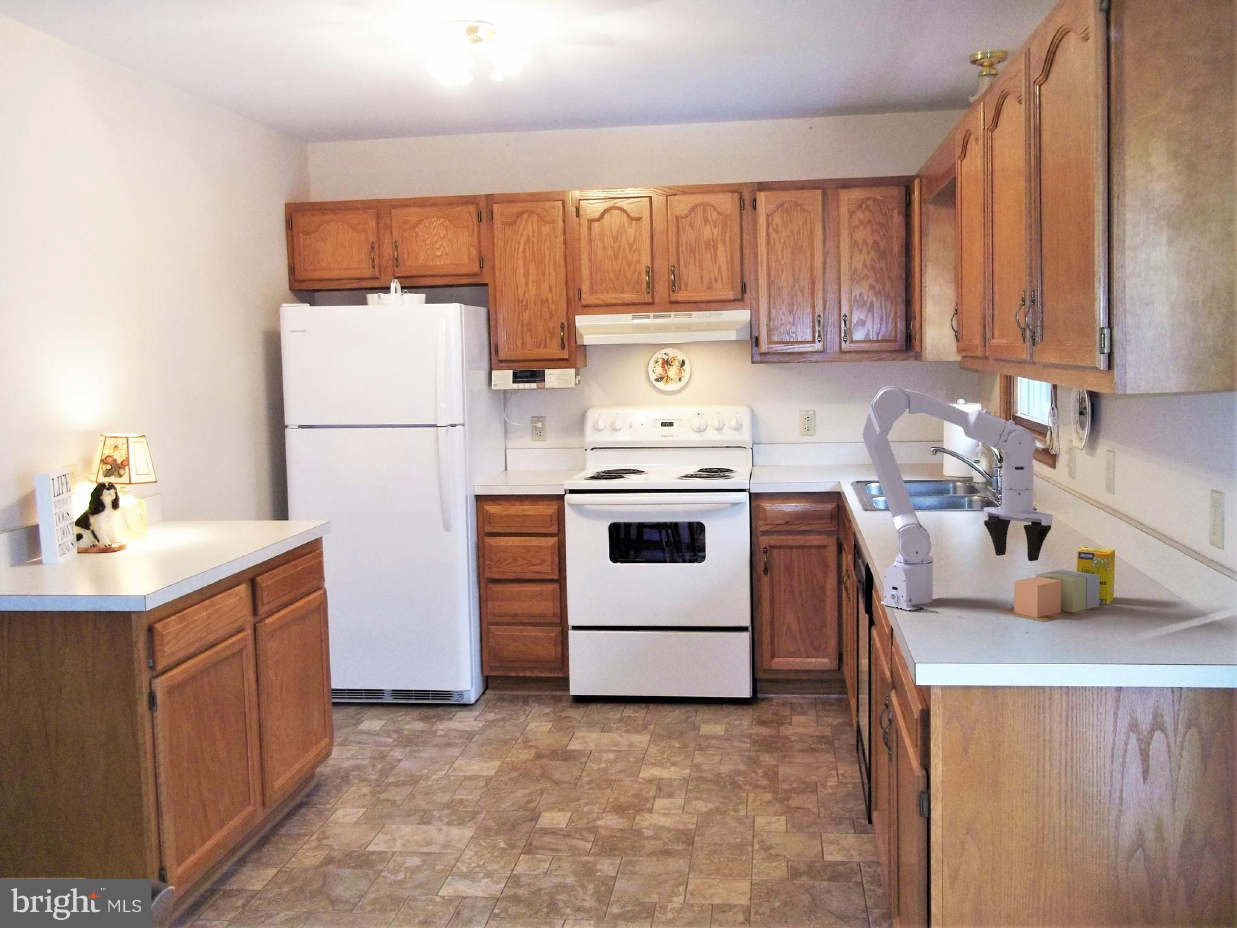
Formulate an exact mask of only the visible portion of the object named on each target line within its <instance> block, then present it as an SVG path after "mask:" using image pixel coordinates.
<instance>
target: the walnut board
mask: <svg viewBox="0 0 1237 928" xmlns="http://www.w3.org/2000/svg"><path fill="white" fill-rule="evenodd" d="M1108 608H1109V606H1106V605H1101V604H1099V606H1098V607H1094V608H1089V609H1085V610H1081V611H1076V612H1068V611H1063V610H1061V612H1059V613H1055V614H1050V615H1046V616H1042V617H1032V616H1028V615H1023V614H1018V613H1014V606H1013V607H1009V608H1004V609H1003V608H1002V609H999V610H994V611H993V612H995V613H998V614H1002V615H1008V616H1012V617H1017V618H1022V619H1025V620H1031V621H1036V622H1041V623H1048V622H1052V621H1056V620H1061V619H1064V618H1069V617H1073V616H1076V615H1077V616H1078V615H1081V614H1085V613H1086V614H1087V613H1091V612H1095V611H1099V610H1103V609H1108Z"/></svg>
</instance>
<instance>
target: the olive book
mask: <svg viewBox="0 0 1237 928" xmlns="http://www.w3.org/2000/svg"><path fill="white" fill-rule="evenodd" d="M1035 577H1043V578H1049V579H1055V580H1061V610H1063V611H1068V612H1076V611H1081V610H1085V609H1086V578H1082V577H1076V576H1070V575H1064V574H1058V573H1052V572H1051V571H1048V572H1043V573H1038V574H1035Z"/></svg>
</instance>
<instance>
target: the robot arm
mask: <svg viewBox="0 0 1237 928" xmlns="http://www.w3.org/2000/svg"><path fill="white" fill-rule="evenodd" d="M907 410H908V415H915V414H927V415H928V416H932V417H935V418H937V419H939V420H942V421H945V422H947V423H950V424H953V425H955V426H958V427H961V428H962V430H963V433H964V435H965V437H967V438H969V439H972V440H974V441H976V442H978V443H982V444H983V445H986V446H988V447H990V448H992V449H996V450H997V449H1002V451H1003V463H1002V465H1001V475H1002V476H1001V507H996V506H995V507H994V506H989V507H988V506H987V507H983V518H987V520H986V519H985V520H983V524H984V526H985V528H986V530H987V532H988V534H989V536H990V539H991V541H992V545H993V549H994V553H995V556H999V557H1000V556H1005V555H1006V553H1007V540H1008V532H1009V528H1010V524H1011V521H1017V522H1023V523H1029V524H1025V525H1023V529H1024V533H1025V537H1026V543H1027V560H1028V561H1029V562H1035V561H1039V558H1040V553H1041V549H1042V548H1043V545H1044V542H1045V540H1046V538H1047V536H1048V534H1049V533H1050V532H1051V530H1052V525H1053V514H1051V513H1045V512H1040V511H1036V510H1034V464H1033V461H1034V455H1033V453H1034V451H1035V450H1036V448H1037V442H1036V438H1035V436H1034V434H1033V433H1032V432H1031V431H1030V430H1028V429H1026V428H1025V427H1023V426H1022V425H1020V424H1019V425H1018V424H1016V425H1015V423H1016V422H1015V421H1014V420H1011V419H1010V420H1008V421H1007V420H1005V419H1003V418H1000V417H998V416H995V415H993V414H992V411H991V410H989V409H986V408H985V409H984V410H981V409H976V410H973V411H971V412H967V411H965V410H963V409H960V408H958V407H956V406H953V405H952V404H949V403H946V402H944V401H942V400H940V399H938V398H935V397H933V396H931V395H928V394H926V393H924V392H920V391H916V390H913V389H907V388H905V389H903V388H902V387H900V386H898V385H895V384H893V385H892V384H889V385H885V386H883V387H881V388H880V389H879V390H878V391H877V393H876V395H875V396H874V398H873V399H872V400H871V403H870V405H869V408H868V410H867V411H868V412H867V414H866V420H865V423H864V426H863V430H862V439H863V442H864V444H865V446H866V449H867V450H866V451H867V452H868V455H869V458H870V460H871V461H870V462H871V463H872V466H873V469H874V471H875V473H876V477H877V479H878V482H879V485H880V487H881V490H882V493H883V495H884V498H885V500H886V504H887V506H888V510H889V512H890V514H891V518H892V520H893V524H894V526H895V529H896V533H897V549H898V552H899V553H898V554H897V555H896V556H895V560H894V562H893V563H892V564H890V565H887V567H886V568H885V570H884V574H883V601H881V602H880V605H885V606H888V607H893V608H896V607H898V608H897V609H900V608H902V610H905V611H909V610H911V611H916V609H917V610H921V609H923V607H921V606H917V605H922V604H929V603H932V602H933V601H934V598H933V597H934V587H933V586H934V573H933V572H934V562H933V561H934V558H933V557H932V556H930V554H931V551H932V541H931V538H930V533H929V532H928V530H927V529H926V527H924V526H923V525H922V523H920V520H919V518H918V516H917V513H916V511H915V508H914V505H913V503H912V501H911V497H910V495H909V492H908V489H907V486H906V485H905V482H904V479H903V476H902V473H901V470H900V468H899V466H898V462H897V460H896V457H895V454H894V451H893V449H892V446H891V443H890V441H889V438H888V436H889V434H890V433H891V430H892V429H893V426H894V424H895V423H896V421H897V420H898V419H900V418H901V417H902V416H903V415H904V413H906V411H907ZM920 608H921V609H920Z"/></svg>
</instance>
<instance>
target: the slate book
mask: <svg viewBox="0 0 1237 928" xmlns="http://www.w3.org/2000/svg"><path fill="white" fill-rule="evenodd" d="M1050 572H1052V573H1058V574H1064V575H1070V576H1076V577H1082V578H1086V609H1089V608H1094V607H1098V606H1099V605H1100V603H1099V596H1100V575H1095V574H1089V573H1083V572H1077V570H1076V571H1075V570H1070V569H1064V568H1063V569H1058V570H1054V571H1050Z"/></svg>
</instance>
